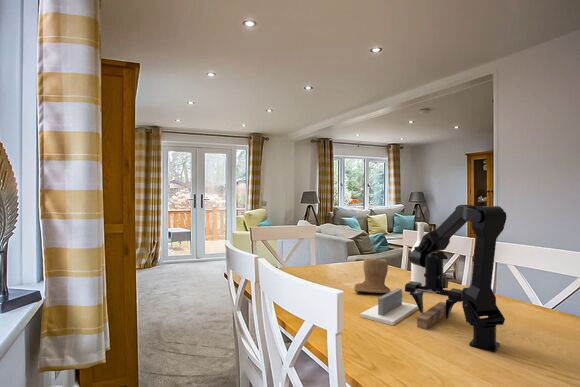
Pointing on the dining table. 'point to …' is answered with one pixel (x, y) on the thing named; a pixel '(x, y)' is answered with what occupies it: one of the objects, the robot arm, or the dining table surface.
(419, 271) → the bottle
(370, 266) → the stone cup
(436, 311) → the walnut bar
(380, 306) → the ridge
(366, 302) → the dining table surface
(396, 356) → the dining table surface
